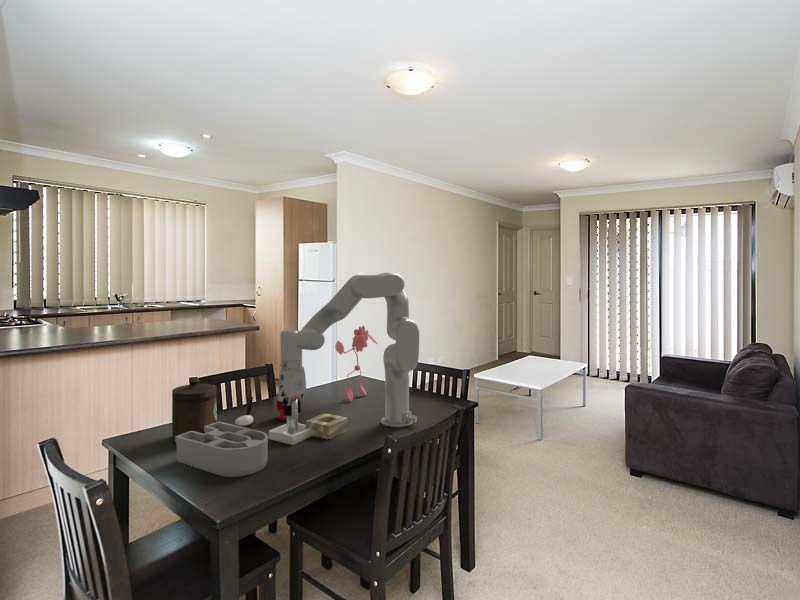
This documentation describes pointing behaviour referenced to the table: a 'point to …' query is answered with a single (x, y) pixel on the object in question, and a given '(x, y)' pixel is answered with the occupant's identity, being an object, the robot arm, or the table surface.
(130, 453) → the table surface
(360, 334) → the pink stick figure
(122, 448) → the table surface
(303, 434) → the tray
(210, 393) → the wooden container
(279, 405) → the canned food
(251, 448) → the grey compartment organizer
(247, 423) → the white oval with stem
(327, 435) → the socket block
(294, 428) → the steel pin
